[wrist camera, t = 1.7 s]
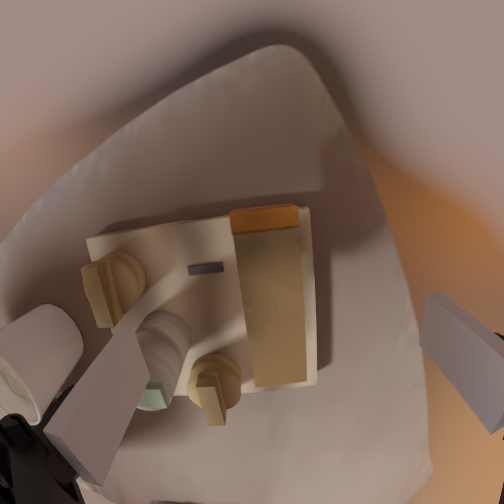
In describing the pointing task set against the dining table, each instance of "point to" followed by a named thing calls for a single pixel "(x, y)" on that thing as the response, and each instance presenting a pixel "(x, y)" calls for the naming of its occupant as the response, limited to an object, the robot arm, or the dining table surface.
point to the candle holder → (37, 360)
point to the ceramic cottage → (161, 502)
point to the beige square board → (187, 308)
